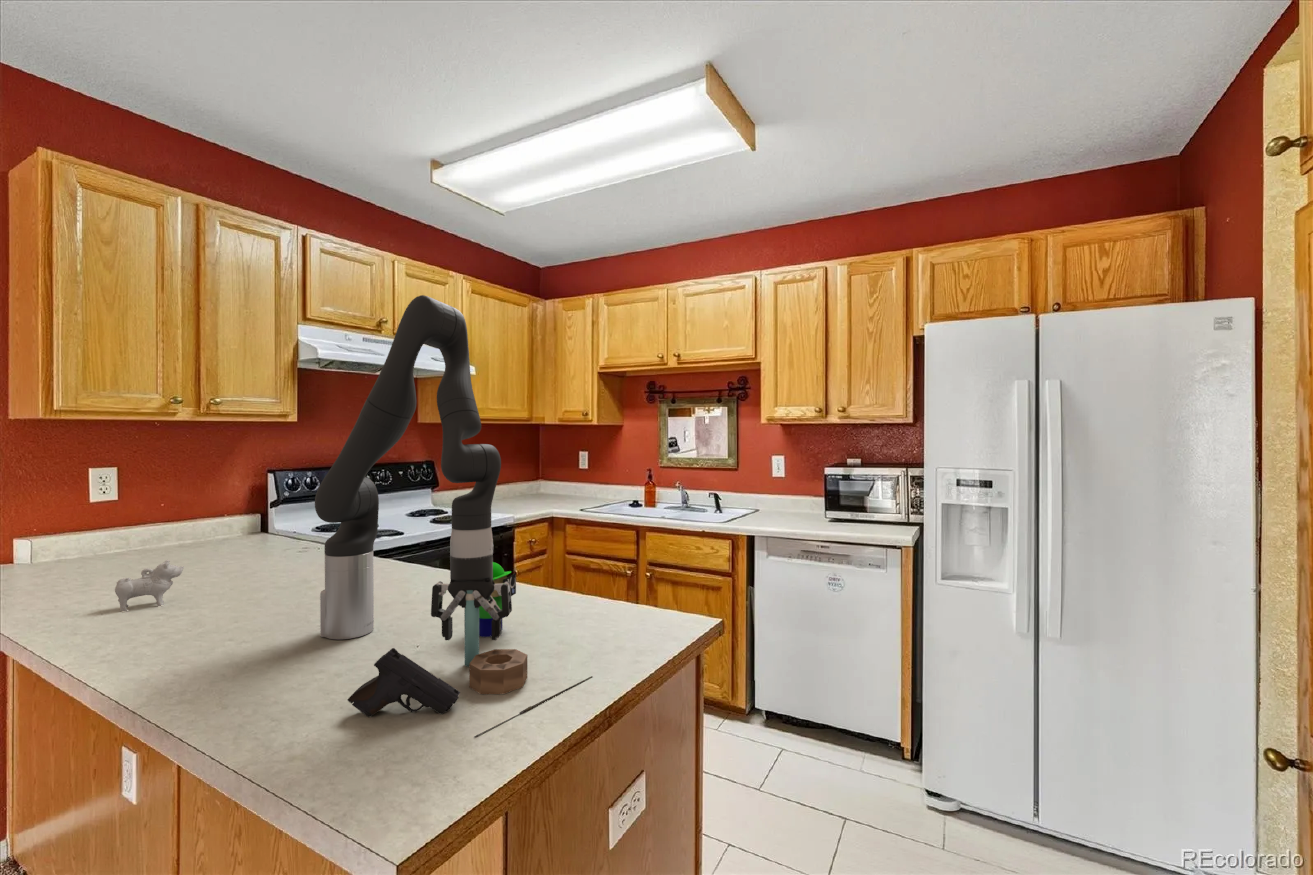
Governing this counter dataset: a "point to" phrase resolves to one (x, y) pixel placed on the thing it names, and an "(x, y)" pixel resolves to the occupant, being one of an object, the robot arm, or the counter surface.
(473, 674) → the bead
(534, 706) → the paintbrush
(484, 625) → the toy
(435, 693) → the handgun
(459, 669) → the counter surface
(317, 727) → the counter surface
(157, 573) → the grey pig charm
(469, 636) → the teal capped tube
